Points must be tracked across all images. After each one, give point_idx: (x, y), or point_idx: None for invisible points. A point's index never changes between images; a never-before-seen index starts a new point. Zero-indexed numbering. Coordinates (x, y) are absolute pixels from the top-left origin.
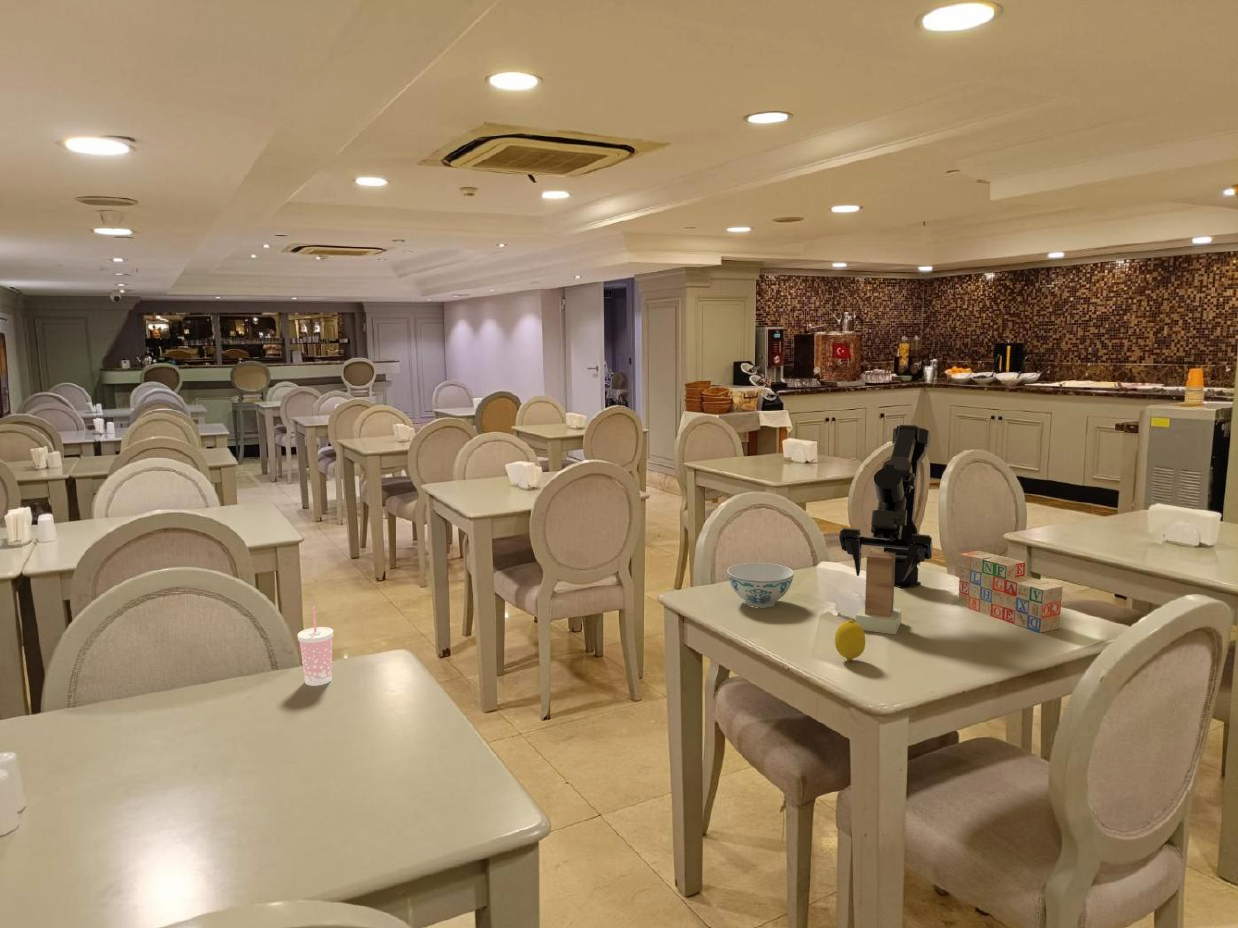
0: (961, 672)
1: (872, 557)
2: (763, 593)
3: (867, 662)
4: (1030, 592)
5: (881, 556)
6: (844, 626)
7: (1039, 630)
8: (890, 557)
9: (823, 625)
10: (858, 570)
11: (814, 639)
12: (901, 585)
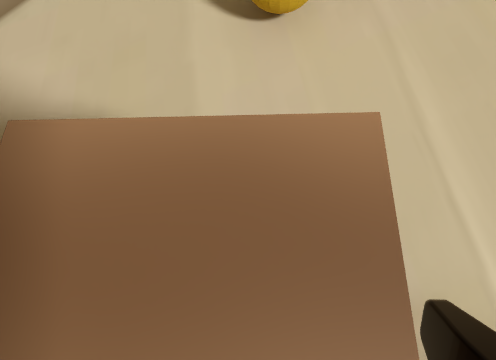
0: (20, 47)
1: (289, 121)
2: None
3: (236, 18)
4: None
5: (157, 173)
6: None
7: None
8: (21, 165)
9: (452, 248)
10: (442, 313)
11: (418, 104)
12: None
